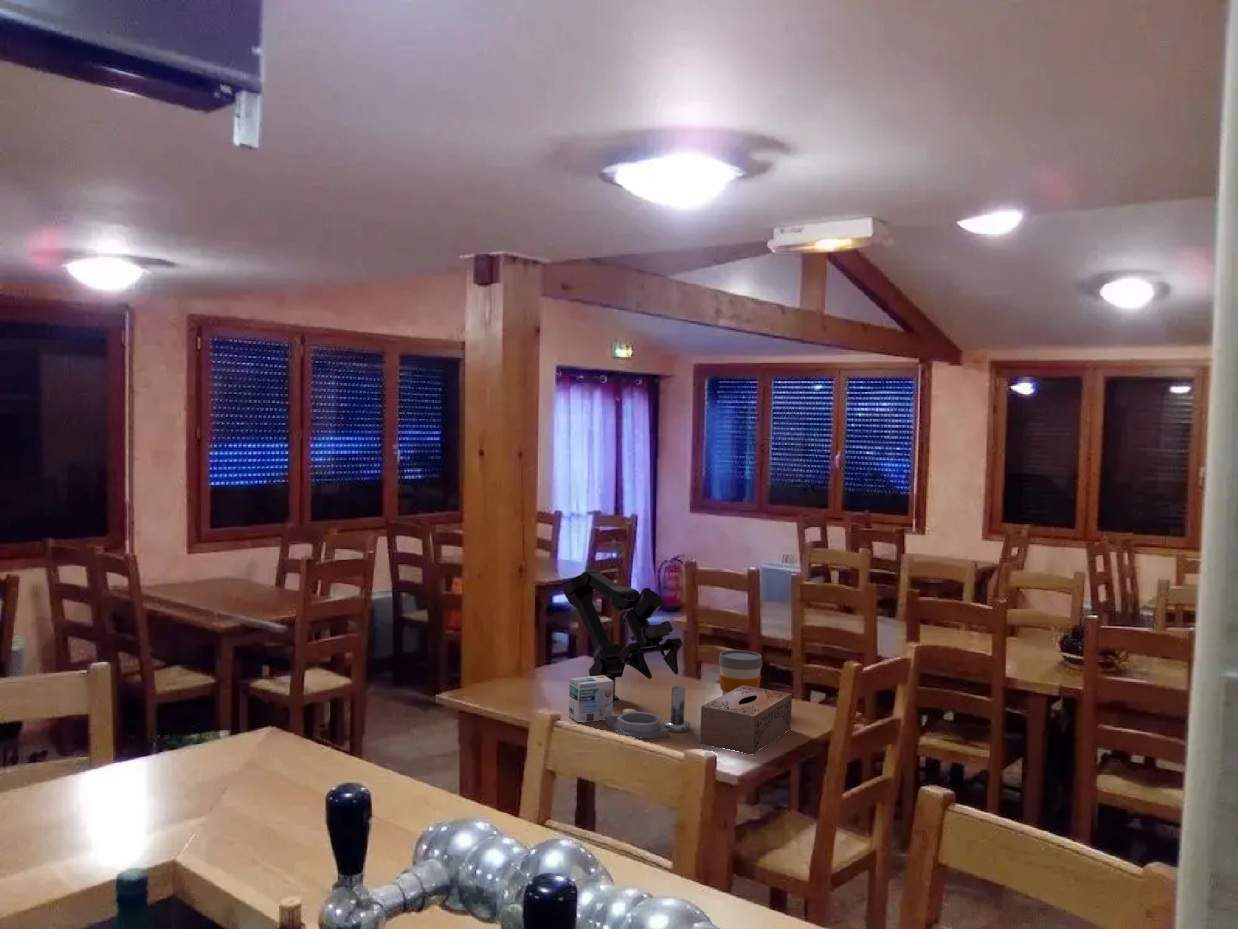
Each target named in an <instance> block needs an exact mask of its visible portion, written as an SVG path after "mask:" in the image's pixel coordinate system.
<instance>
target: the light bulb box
mask: <svg viewBox="0 0 1238 929" xmlns="http://www.w3.org/2000/svg"><path fill="white" fill-rule="evenodd" d="M613 685H614V681H613V680H611V679H609V678H607V677H606V676H604V675H600V676H590V675H589V676H583V677H571V678H569V695H568V696H569V697H568V698H569V700H568V717H569V718H571V719H572V718H573V719H574V720H573V719H572V720H573V721H575V720H576V721H585V722H584V723H590V722H591V721H592V722H600V721H599V720H602V721H604V719H605V716H613V705H614V700H613ZM576 721H575V722H576ZM589 721H590V722H589ZM592 722H591V723H592Z"/></svg>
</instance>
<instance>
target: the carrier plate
mask: <svg viewBox="0 0 1238 929" xmlns="http://www.w3.org/2000/svg"><path fill="white" fill-rule="evenodd" d="M603 721H605V722H606V723H607V724H609V725H610V726H611V727H612V728H611V727H610V726H609V725H608V726H609V727H610V728H611V729H612V730H613V729H614V730H617V731H618V733H620V734H621V735H625V736H632V737H635V738H638V739H637V740H643V739H642V738H646V739H657V738H667V737H669V736H670V735H669V733H670V731H668V730H667V729H666V728H664V725H662V718H661V717H660V716H659V715H657V714H653V713H649V712H644V711H637V710H636V709H634V708H624V709H623V710H622V713H621V714H618V715H612V716H605V720H603ZM605 722H604V723H605ZM606 723H605V724H606ZM607 724H606V725H607ZM614 730H613V731H614ZM618 733H617V734H618ZM640 737H642V738H640Z"/></svg>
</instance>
